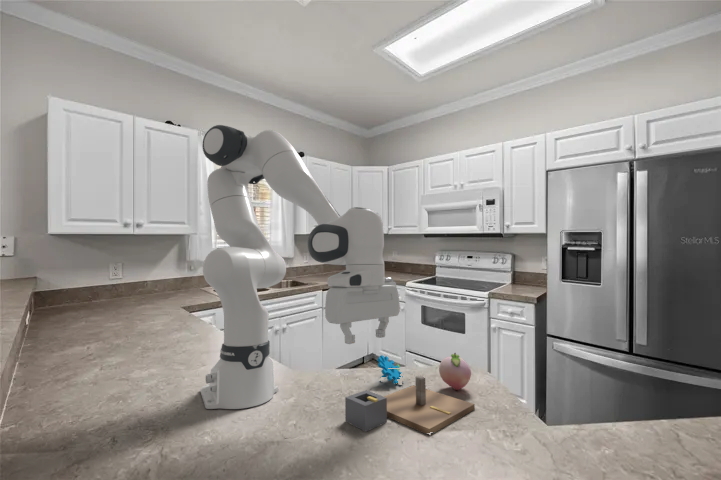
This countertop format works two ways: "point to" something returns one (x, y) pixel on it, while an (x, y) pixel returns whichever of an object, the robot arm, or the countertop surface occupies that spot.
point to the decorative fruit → (455, 371)
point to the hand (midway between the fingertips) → (365, 340)
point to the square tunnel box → (366, 410)
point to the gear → (389, 372)
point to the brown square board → (425, 407)
